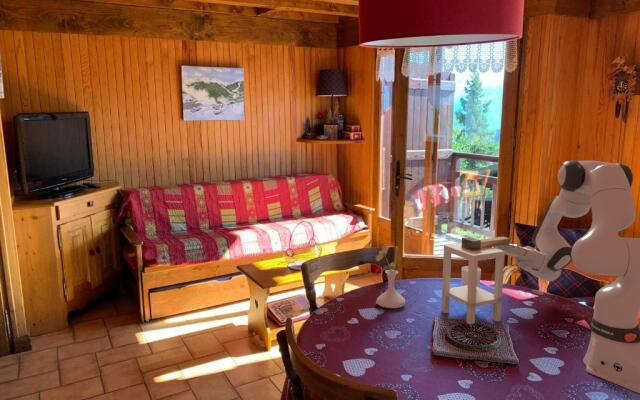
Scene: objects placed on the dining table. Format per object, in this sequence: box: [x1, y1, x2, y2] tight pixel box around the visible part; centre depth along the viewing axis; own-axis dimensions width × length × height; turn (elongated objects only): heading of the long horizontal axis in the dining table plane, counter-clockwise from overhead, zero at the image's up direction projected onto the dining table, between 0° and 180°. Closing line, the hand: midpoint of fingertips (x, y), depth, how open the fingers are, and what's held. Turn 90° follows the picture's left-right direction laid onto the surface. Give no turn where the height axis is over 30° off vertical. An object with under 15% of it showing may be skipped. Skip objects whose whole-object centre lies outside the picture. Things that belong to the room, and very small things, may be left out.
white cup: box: [461, 265, 482, 288], centre depth 209 cm, size 8×8×10 cm
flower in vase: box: [375, 244, 407, 309], centre depth 192 cm, size 13×11×25 cm
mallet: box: [461, 236, 511, 251], centre depth 182 cm, size 6×18×4 cm, turn 114°
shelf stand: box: [441, 242, 505, 324], centre depth 182 cm, size 16×14×26 cm
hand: (504, 244), depth 186 cm, fingers open, 8 cm apart
